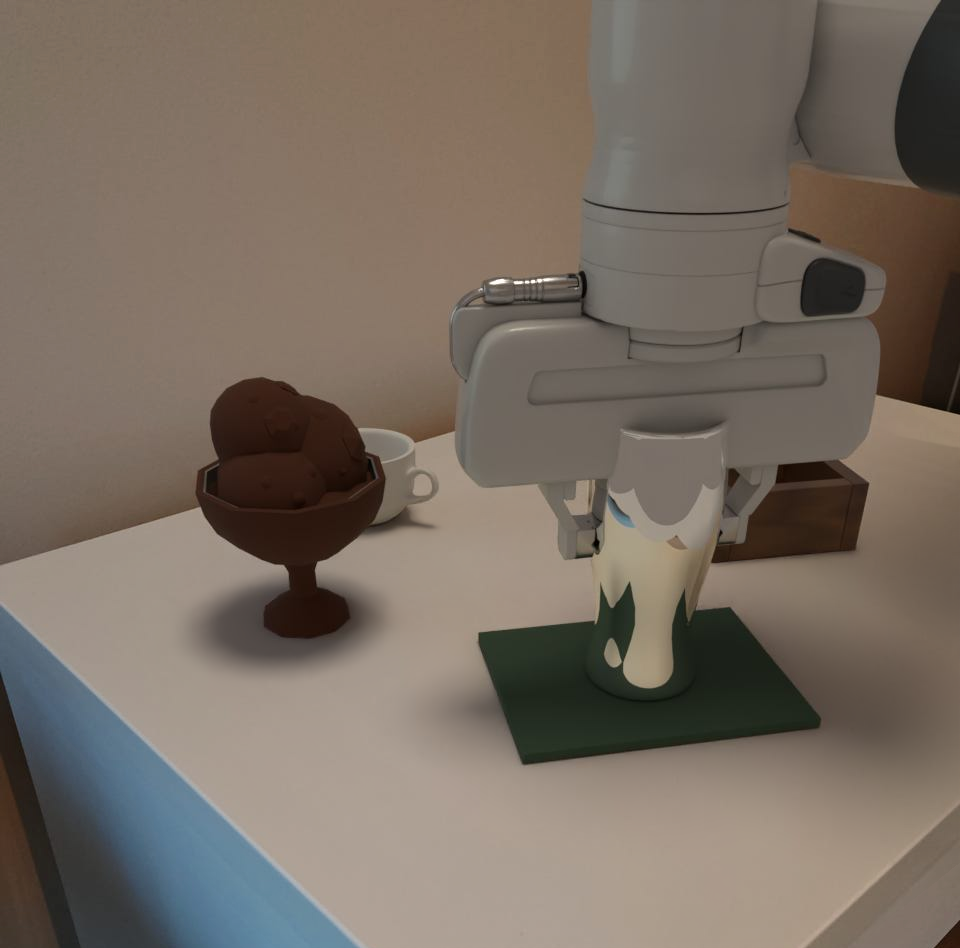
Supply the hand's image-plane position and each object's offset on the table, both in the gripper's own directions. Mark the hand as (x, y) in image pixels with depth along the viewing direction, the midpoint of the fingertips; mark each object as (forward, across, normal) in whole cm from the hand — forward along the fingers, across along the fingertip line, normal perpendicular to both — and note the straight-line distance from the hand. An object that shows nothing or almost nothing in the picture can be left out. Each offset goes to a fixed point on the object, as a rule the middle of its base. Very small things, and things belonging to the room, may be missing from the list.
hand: (651, 547), depth 52 cm
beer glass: (+8, 0, 0) cm, 8 cm away
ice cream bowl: (+8, -18, +11) cm, 23 cm away
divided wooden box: (+8, +15, +23) cm, 29 cm away
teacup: (+8, -12, +25) cm, 29 cm away
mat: (+8, 0, 0) cm, 8 cm away
